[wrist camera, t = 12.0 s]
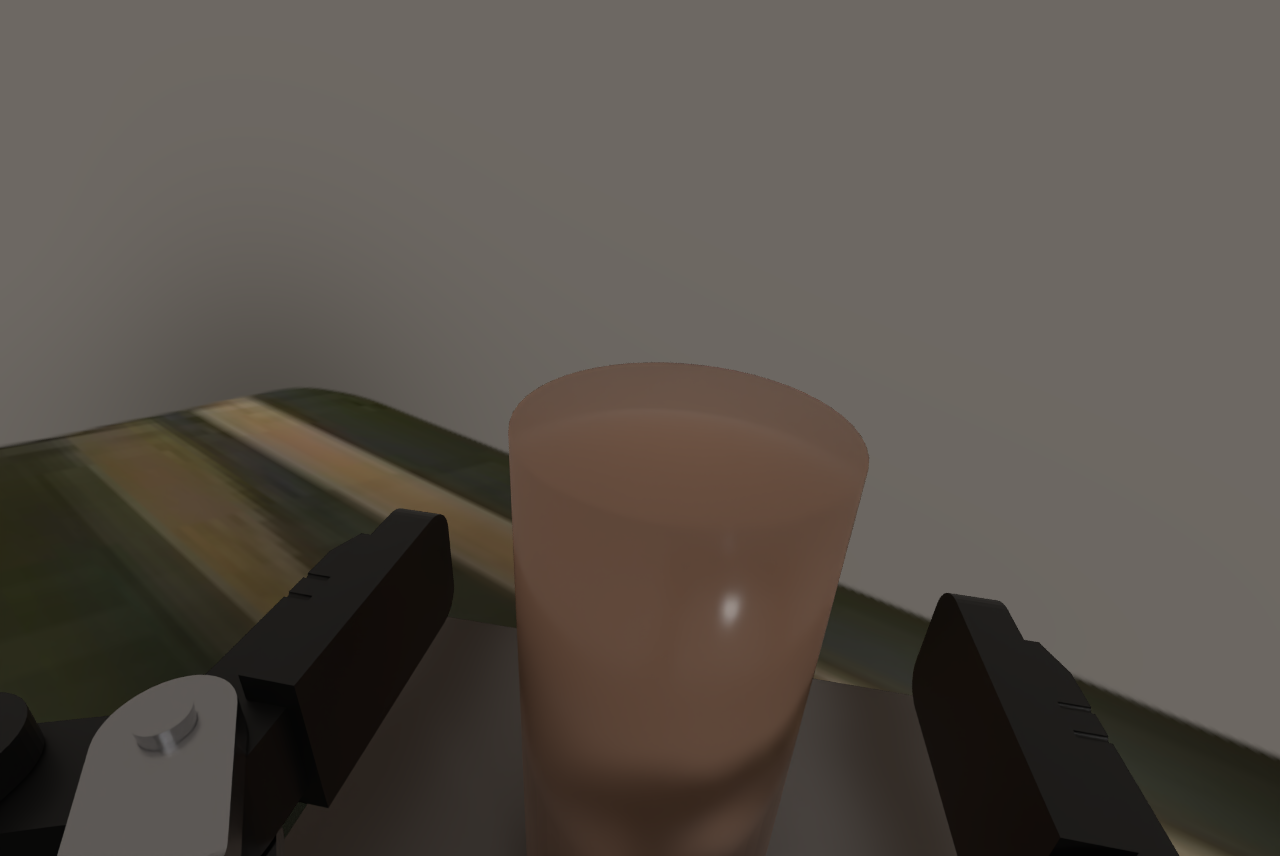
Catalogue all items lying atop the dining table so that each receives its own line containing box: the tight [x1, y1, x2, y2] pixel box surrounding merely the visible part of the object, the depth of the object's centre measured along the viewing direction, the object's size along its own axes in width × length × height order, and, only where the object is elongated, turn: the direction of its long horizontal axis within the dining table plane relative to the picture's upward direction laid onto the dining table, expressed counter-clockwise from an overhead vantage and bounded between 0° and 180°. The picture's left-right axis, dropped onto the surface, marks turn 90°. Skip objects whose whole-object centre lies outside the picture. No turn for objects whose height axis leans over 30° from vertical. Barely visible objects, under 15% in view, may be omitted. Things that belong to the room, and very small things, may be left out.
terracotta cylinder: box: [508, 362, 869, 856], centre depth 11 cm, size 5×5×11 cm
